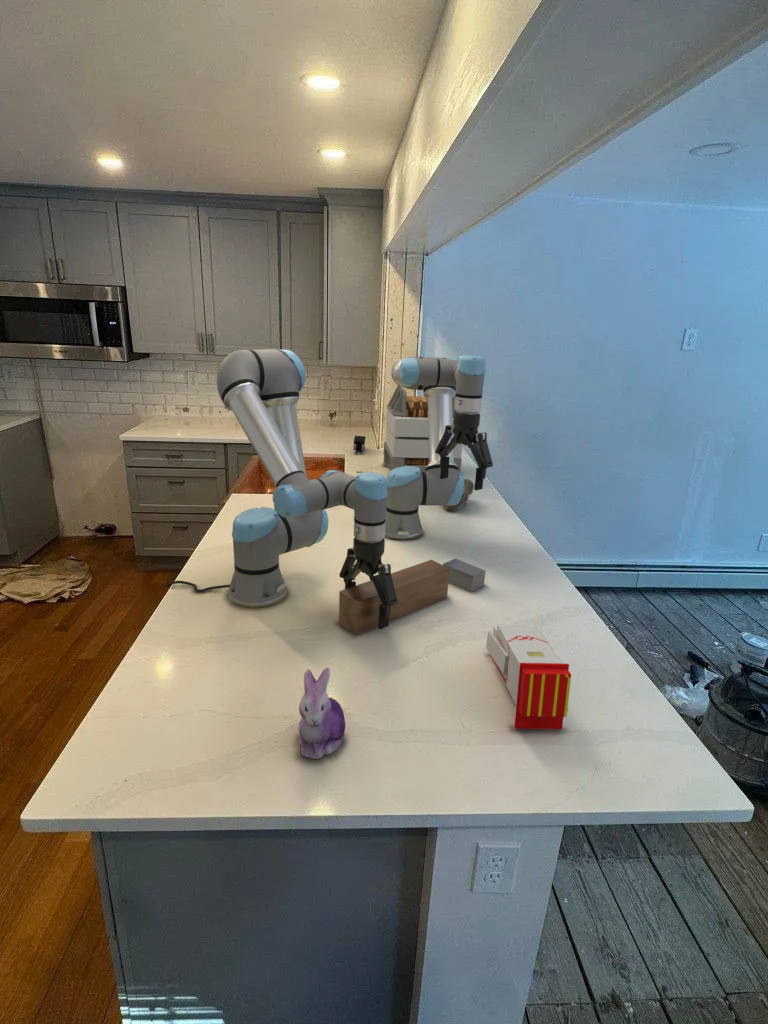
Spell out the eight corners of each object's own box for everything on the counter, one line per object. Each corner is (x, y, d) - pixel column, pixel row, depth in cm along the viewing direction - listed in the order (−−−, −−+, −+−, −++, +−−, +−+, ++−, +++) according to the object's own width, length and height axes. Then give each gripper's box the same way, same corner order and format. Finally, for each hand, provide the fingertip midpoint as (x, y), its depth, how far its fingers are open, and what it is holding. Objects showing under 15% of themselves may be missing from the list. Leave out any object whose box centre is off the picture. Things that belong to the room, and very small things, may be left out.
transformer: (382, 463, 289) (386, 382, 275) (445, 464, 293) (451, 384, 279) (390, 482, 257) (394, 392, 243) (460, 483, 261) (468, 394, 247)
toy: (533, 609, 133) (580, 670, 104) (528, 661, 136) (573, 736, 107) (482, 608, 133) (514, 669, 103) (478, 661, 135) (509, 735, 106)
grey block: (441, 578, 168) (442, 563, 166) (454, 573, 172) (455, 558, 170) (471, 592, 161) (473, 576, 159) (483, 585, 165) (485, 570, 163)
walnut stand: (338, 623, 142) (339, 591, 139) (429, 588, 162) (431, 559, 159) (355, 635, 137) (356, 602, 134) (447, 597, 157) (449, 568, 154)
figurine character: (365, 457, 304) (365, 447, 318) (365, 443, 301) (365, 434, 315) (352, 456, 304) (353, 447, 318) (352, 443, 301) (353, 434, 314)
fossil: (437, 485, 243) (466, 466, 238) (450, 501, 245) (479, 483, 240) (436, 507, 223) (469, 487, 218) (450, 525, 226) (482, 505, 221)
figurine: (306, 770, 97) (306, 697, 91) (287, 731, 105) (286, 662, 100) (357, 752, 101) (359, 682, 96) (334, 717, 109) (335, 650, 104)
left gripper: (326, 525, 142) (325, 600, 149) (391, 559, 124) (387, 642, 132) (350, 519, 147) (348, 592, 154) (416, 551, 129) (410, 632, 136)
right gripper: (426, 406, 167) (422, 475, 174) (493, 420, 150) (485, 496, 157) (444, 404, 172) (439, 471, 179) (510, 418, 154) (502, 492, 162)
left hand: (366, 616), depth 143 cm, fingers open, 13 cm apart
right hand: (460, 483), depth 168 cm, fingers open, 13 cm apart
